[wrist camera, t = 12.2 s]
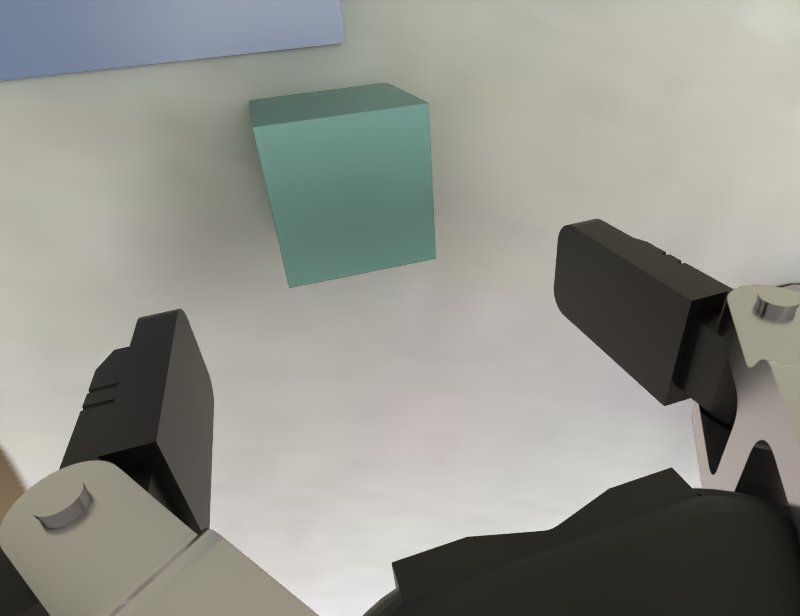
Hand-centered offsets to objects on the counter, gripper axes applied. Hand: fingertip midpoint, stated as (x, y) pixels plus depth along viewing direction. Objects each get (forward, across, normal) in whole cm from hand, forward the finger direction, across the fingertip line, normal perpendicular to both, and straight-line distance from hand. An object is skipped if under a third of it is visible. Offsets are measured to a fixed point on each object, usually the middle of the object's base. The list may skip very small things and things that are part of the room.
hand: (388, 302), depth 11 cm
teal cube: (+11, -1, 0) cm, 11 cm away
